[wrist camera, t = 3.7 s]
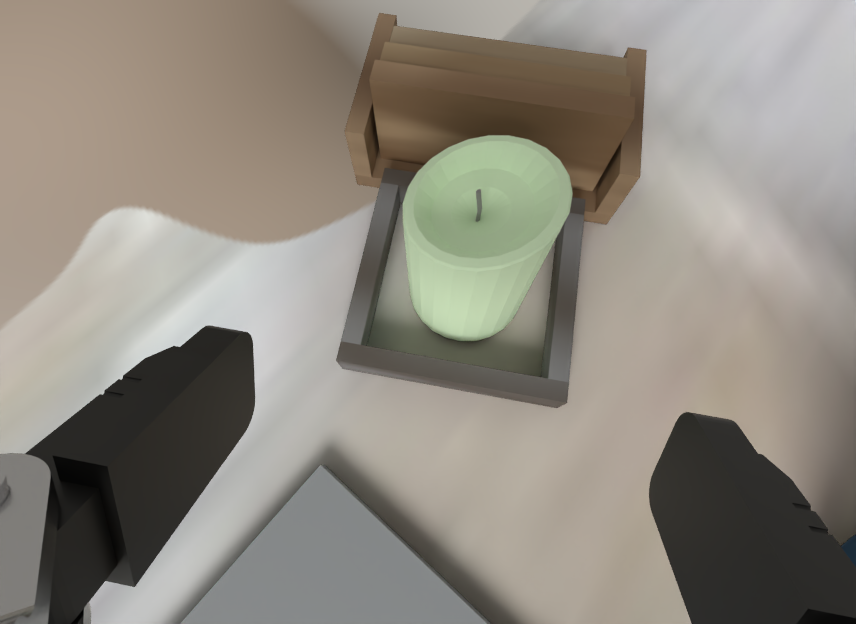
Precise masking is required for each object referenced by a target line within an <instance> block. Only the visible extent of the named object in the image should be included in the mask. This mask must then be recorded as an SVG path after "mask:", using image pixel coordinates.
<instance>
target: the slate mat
mask: <svg viewBox="0 0 856 624" xmlns="http://www.w3.org/2000/svg"><path fill="white" fill-rule="evenodd" d="M180 624H491V623H490V622H489V621H488V620H487V619H486V618H485V617H484V616H483V615H482V614H481V613H480V612H478V611H477V610H476V609H475V608H474V607H473V606H472V605H471V604H470V603H469V602H468V601H467V600H466V599H465V598H464V597H463V596H462V595H461V594H460V593H459V592H457V591H456V590H455V589H454V588H453V587H452V586H451V585H450V584H449V583H448V582H447V581H446V580H445V579H444V578H443V577H442V576H441V575H440V574H439V573H437V572H436V571H435V570H434V569H433V568H432V567H431V566H430V565H429V564H428V563H427V562H426V561H425V560H424V559H423V558H422V557H421V556H420V555H419V554H418V553H416V552H415V551H414V550H413V549H412V548H411V547H410V546H409V545H408V544H407V543H406V542H405V541H404V540H403V539H402V538H401V537H400V536H399V535H398V534H396V533H395V532H394V531H393V530H392V529H391V528H390V527H389V526H388V525H387V524H386V523H385V522H384V521H383V520H382V519H381V518H380V517H379V516H378V515H377V514H375V513H374V512H373V511H372V510H371V509H370V508H369V507H368V506H367V505H366V504H365V503H364V502H363V501H362V500H361V499H360V498H359V497H358V496H357V495H355V494H354V493H353V492H352V491H351V490H350V489H349V488H348V487H347V486H346V485H345V484H344V483H343V482H342V481H341V480H340V479H339V478H338V477H337V476H336V475H334V474H333V473H332V472H331V471H330V470H329V469H328V468H327V467H326V466H325V465H320V466H319V467H318V468H317V469H316V470H315V471H314V473H313V474H312V475H311V476H310V477H309V478H308V479H307V481H306V482H305V483H304V484H303V485H302V486H301V487H300V488H299V490H298V491H297V492H296V493H295V494H294V495H293V496H292V498H291V499H290V500H289V501H288V502H287V503H286V504H285V505H284V507H283V508H282V509H281V510H280V511H279V512H278V513H277V515H276V516H275V517H274V518H273V519H272V520H271V521H270V522H269V524H268V525H267V526H266V527H265V528H264V529H263V530H262V532H261V533H260V534H259V535H258V536H257V537H256V538H255V539H254V541H253V542H252V543H251V544H250V545H249V546H248V547H247V549H246V550H245V551H244V552H243V553H242V554H241V555H240V556H239V558H238V559H237V560H236V561H235V562H234V563H233V564H232V565H231V567H230V568H229V569H228V570H227V571H226V572H225V573H224V575H223V576H222V577H221V578H220V579H219V580H218V581H217V582H216V584H215V585H214V586H213V587H212V588H211V589H210V590H209V592H208V593H207V594H206V595H205V596H204V597H203V598H202V599H201V601H200V602H199V603H198V604H197V605H196V606H195V607H194V609H193V610H192V611H191V612H190V613H189V614H188V615H187V616H186V618H185V619H184V620H183V621H182V622H181V623H180Z"/></svg>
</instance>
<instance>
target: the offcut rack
mask: <svg viewBox="0 0 856 624" xmlns="http://www.w3.org/2000/svg"><path fill="white" fill-rule="evenodd" d="M645 70H646V50H642V49H635V48H628V49H627V51H626V53H625V55H624V57H623V58H622V57H614V56H607V55H600V54H593V53H586V52H579V51H572V50H564V49H557V48H550V47H543V46H536V45H529V44H522V43H514V42H507V41H500V40H492V39H486V38H479V37H471V36H464V35H457V34H449V33H443V32H435V31H428V30H421V29H414V28H407V27H400V26H397V18H396V15H389V14H383V13H379V15H378V18H377V22H376V25H375V29H374V32H373V35H372V40H371V42H370V46H369V49H368V53H367V56H366V60H365V63H364V67H363V70H362V73H361V77H360V80H359V84H358V87H357V90H356V94H355V97H354V101H353V104H352V108H351V111H350V114H349V118H348V121H347V125H346V128H345V135H346V139H347V143H348V147H349V152H350V156H351V160H352V164H353V168H354V172H355V176H356V180H357V184H358V185H365V186H371V187H377V188H379V192H378V196H377V200H376V204H375V208H374V212H373V216H372V220H371V224H370V228H369V232H368V236H367V240H366V244H365V248H364V252H363V256H362V260H361V264H360V268H359V272H358V276H357V280H356V284H355V288H354V292H353V296H352V300H351V304H350V307H349V311H348V315H347V319H346V323H345V327H344V331H343V335H342V339H341V343H340V347H339V351H338V355H337V359H336V361H337V362H338V363H339V365H340V366H341V367H342V369H348V370H353V371H358V372H364V373H369V374H375V375H380V376H386V377H391V378H396V379H402V380H407V381H413V382H418V383H424V384H429V385H434V386H440V387H445V388H451V389H456V390H462V391H467V392H472V393H478V394H483V395H489V396H494V397H500V398H505V399H511V400H516V401H521V402H527V403H532V404H538V405H543V406H549V407H554V408H558V407H560V406H562V405H564V404H566V403H567V397H568V386H569V375H570V364H571V354H572V343H573V332H574V321H575V310H576V299H577V288H578V277H579V266H580V255H581V245H582V234H583V223H584V221H589V222H595V223H601V224H607V223H608V222H609V220H610V219H611V217H612V216H613V214H614V213H615V212H616V210H617V209H618V207H619V206H620V205H621V203H622V202H623V200H624V199H625V197H626V196H627V195H628V193H629V192H630V190H631V189H632V187H633V186H634V185H635V183H636V182H637V180H638V179H639V178H640V168H641V148H642V128H643V109H644V89H645ZM488 135H510V136H514V137H519V138H524V139H528V140H531V141H533V142H535V143H537V144H539V145H541V146H543V147H545V148H547V149H548V150H549V151H550V152H551V153H553V154H554V155H555V156H556V157H557V158H558V159H559V160H560V161H561V162H562V164H563V166H564V167H565V169H566V171H567V173H568V174H569V176H570V182H571V187H572V192H573V195H572V201H571V207H570V213H569V215H568V217H567V219H566V220H565V222H564V224H563V226H562V228H561V230H560V232H559V234H558V236H557V238H556V245H555V254H554V263H553V272H552V281H551V290H550V299H549V308H548V317H547V326H546V335H545V344H544V353H543V362H542V371H541V377H536V376H531V375H525V374H520V373H514V372H509V371H503V370H498V369H492V368H486V367H481V366H475V365H470V364H464V363H459V362H453V361H448V360H442V359H437V358H431V357H426V356H420V355H414V354H409V353H403V352H398V351H392V350H387V349H381V348H376V347H370V346H367V344H368V340H369V335H370V331H371V327H372V322H373V318H374V314H375V309H376V305H377V301H378V297H379V292H380V288H381V284H382V279H383V275H384V271H385V267H386V262H387V258H388V254H389V249H390V245H391V241H392V237H393V232H394V228H395V224H396V219H397V215H398V211H399V207H400V203H402V204H403V201H404V198H405V195H406V192H407V188H408V186H409V185H410V183H411V181H412V180H413V178H414V177H415V175H416V174H417V172H418V171H419V170H420V169H421V168H422V167H423V166H424V165H425V164H426V163H427V162H428V161H429V160H430V159H431V158H432V157H434V156H436V155H437V154H439V153H440V152H442V151H443V150H445V149H446V148H448V147H450V146H453V145H455V144H458V143H460V142H463V141H465V140H468V139H473V138H478V137H483V136H488Z"/></svg>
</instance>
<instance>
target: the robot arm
mask: <svg viewBox="0 0 856 624" xmlns="http://www.w3.org/2000/svg"><path fill="white" fill-rule="evenodd" d="M254 406H255V383H254V358H253V341H252V338H251V335H250V334H249V333H248V332H243V331H237V330H232V329H226V328H221V327H215V326H205V327H204V328H202V329H201V330H200V331H199V332H197V333H196V334H195V335H194V336H193V337H192V338H190V339H189V340H188V341H187V342H186V343H184V344H183V345H182V346H181V347H176V346H173V347H171V348H168V349H166V350H164V351H161V352H159V353H157V354H154V355H152V356H150V357H147V358H145V359H144V360H142V361H141V362H140V363H139V364H137V365H136V366H135V367H134V368H132V369H131V370H130V371H129V372H127V373H126V374H125V375H124V376H123V379H122V380H120V379H119V380H117V381H116V382H115V383H114V384H112V385H111V386H110V387H108V388H107V389H106V390H105V393H104V394H103V395H98V396H97V397H96V398H95V399H93V400H92V401H91V402H90V403H88V404H87V405H86V406H85V407H83V408H82V409H81V410H80V411H78V412H77V413H76V414H74V415H73V416H72V417H71V418H69V419H68V420H67V421H66V422H64V423H63V424H62V425H61V426H59V427H58V428H57V429H56V430H54V431H53V432H52V433H51V434H49V435H48V436H47V437H46V438H44V439H43V440H42V441H40V442H39V443H38V444H37V445H35V446H34V447H33V448H32V449H30V450H29V451H28V452H27V453H25V454H18V453H9V454H0V624H91V606H90V603H89V601H90V600H91V598H92V597H93V596H94V594H95V593H96V592H97V591H98V589H99V588H100V587H101V586H102V584H103V583H104V582H105V581H109V582H114V583H118V584H123V585H128V586H132V587H135V586H136V584H137V583H138V582H139V580H140V579H141V577H142V576H143V575H144V573H145V572H146V570H147V569H148V568H149V566H150V565H151V563H152V562H153V561H154V559H155V558H156V556H157V555H158V554H159V552H160V551H161V549H162V548H163V547H164V545H165V544H166V542H167V541H168V540H169V538H170V537H171V535H172V534H173V533H174V531H175V530H176V528H177V527H178V526H179V524H180V523H181V521H182V520H183V519H184V517H185V516H186V514H187V513H188V512H189V510H190V509H191V507H192V506H193V505H194V503H195V502H196V500H197V499H198V497H199V496H200V495H201V493H202V492H203V490H204V489H205V488H206V486H207V485H208V483H209V482H210V481H211V479H212V478H213V476H214V475H215V474H216V472H217V471H218V469H219V468H220V467H221V465H222V464H223V462H224V461H225V460H226V458H227V457H228V455H229V454H230V453H231V451H232V450H233V448H234V447H235V446H236V444H237V443H238V441H239V440H240V439H241V437H242V436H243V434H244V433H245V431H246V430H247V428H248V426H249V424H250V421H251V419H252V415H253V411H254ZM649 500H650V507H651V511H652V514H653V517H654V519H655V522H656V525H657V528H658V531H659V533H660V536H661V539H662V542H663V545H664V547H665V550H666V553H667V556H668V559H669V561H670V564H671V567H672V570H673V572H674V575H675V578H676V581H677V584H678V586H679V589H680V592H681V595H682V598H683V600H684V603H685V606H686V609H687V612H688V614H689V617H690V620H691V623H692V624H856V567H855V565H854V564H853V563H852V561H851V560H850V558H849V557H848V556H847V554H846V553H845V552H844V550H843V549H842V548H841V546H840V545H839V544H838V542H837V541H836V539H835V538H834V537H833V535H828V532H827V531H828V529H827V527H826V526H825V524H824V523H823V522H822V520H821V519H820V518H819V516H818V515H817V514H816V512H814V511H811V509H810V508H811V505H810V504H809V503H808V501H807V500H806V499H805V497H804V496H803V495H802V493H801V492H800V491H799V489H798V488H797V486H796V485H795V484H794V482H793V481H792V480H791V479H790V478H789V477H788V476H787V475H786V474H784V473H783V472H782V471H781V470H780V469H779V468H777V467H776V466H775V465H774V464H773V463H772V462H770V461H769V460H768V459H767V458H766V457H765V456H763V455H762V454H758V453H757V452H756V450H755V449H754V448H753V446H752V445H751V443H750V442H749V440H748V439H747V437H746V436H745V435H744V433H743V432H742V430H741V429H740V427H739V426H738V425H737V424H736V423H735V422H734V421H732V420H729V419H723V418H718V417H712V416H707V415H701V414H695V413H690V412H686V413H683V414H682V415H681V416H680V417H679V418H678V420H677V421H676V423H675V426H674V428H673V430H672V432H671V434H670V437H669V439H668V441H667V443H666V446H665V448H664V450H663V452H662V454H661V457H660V459H659V461H658V463H657V466H656V468H655V470H654V472H653V475H652V478H651V482H650V488H649Z"/></svg>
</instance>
